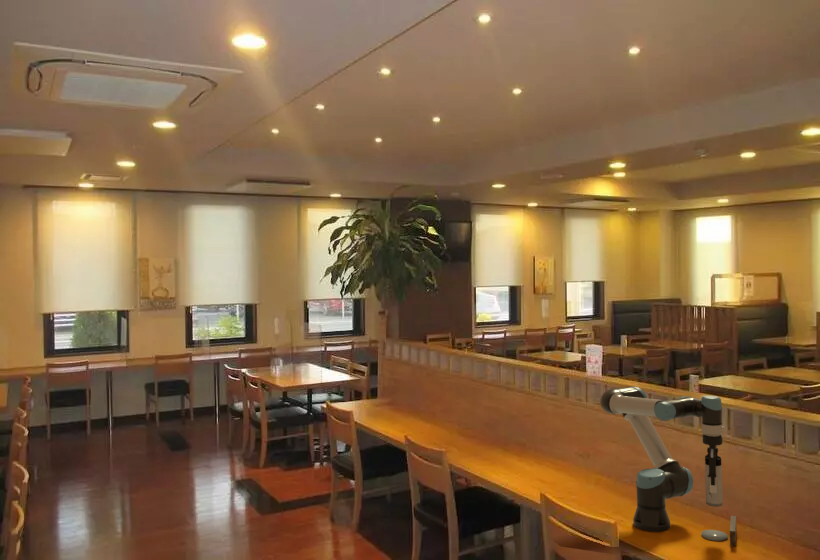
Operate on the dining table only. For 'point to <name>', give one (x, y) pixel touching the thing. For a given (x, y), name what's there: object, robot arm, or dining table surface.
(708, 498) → the travel mug
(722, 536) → the slate saucer
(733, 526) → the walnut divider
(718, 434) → the robot arm
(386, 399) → the dining table surface
